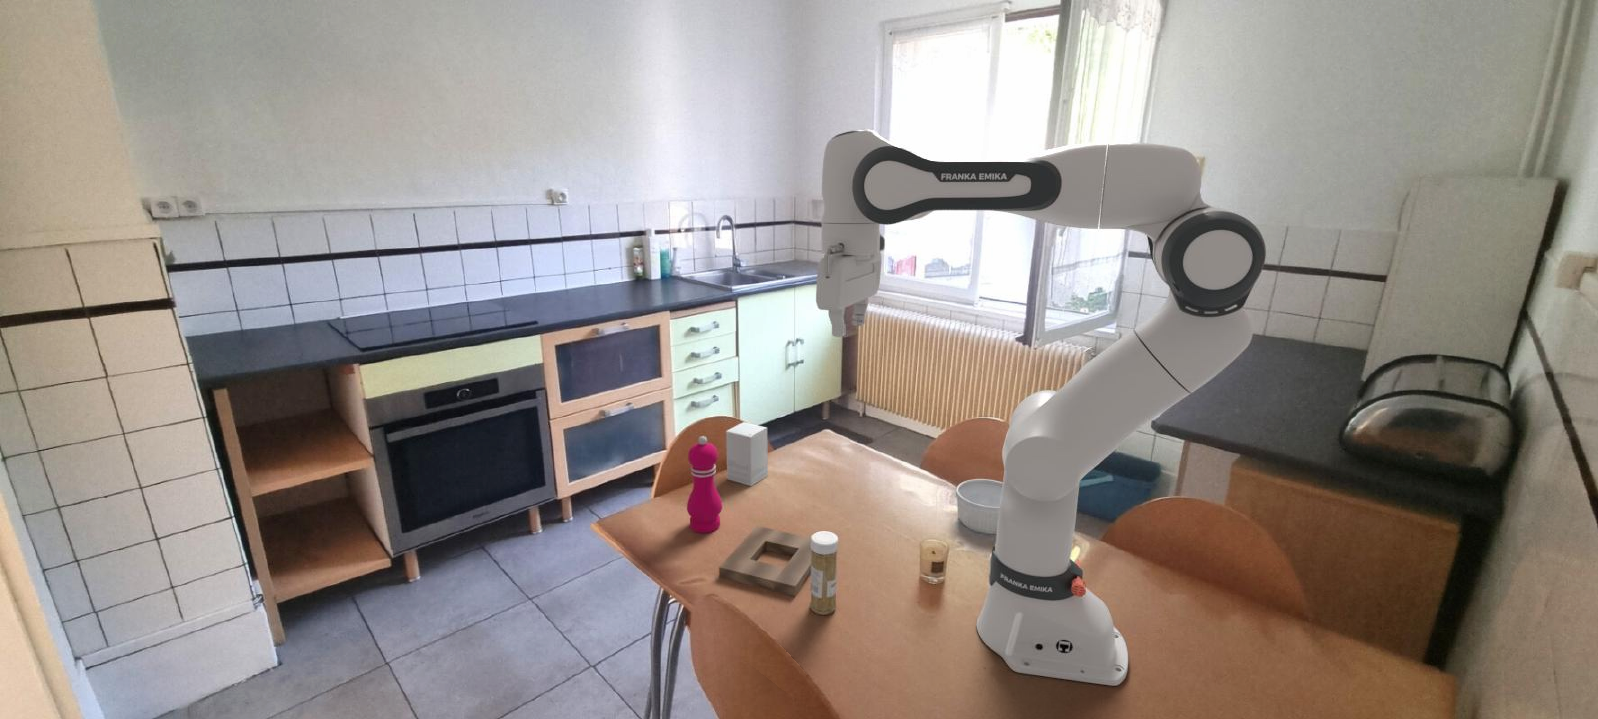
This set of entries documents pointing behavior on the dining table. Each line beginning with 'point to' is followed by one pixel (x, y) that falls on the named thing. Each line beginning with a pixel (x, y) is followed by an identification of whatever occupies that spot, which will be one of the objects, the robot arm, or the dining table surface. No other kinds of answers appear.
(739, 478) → the supplement box
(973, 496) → the ramekin
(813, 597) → the sprinkles bottle
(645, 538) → the dining table surface
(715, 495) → the pepper mill
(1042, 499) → the robot arm
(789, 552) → the wooden square frame
